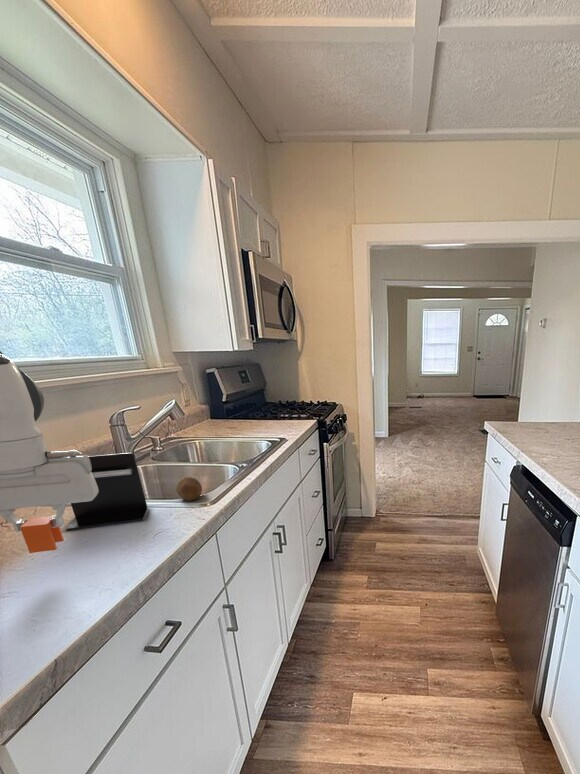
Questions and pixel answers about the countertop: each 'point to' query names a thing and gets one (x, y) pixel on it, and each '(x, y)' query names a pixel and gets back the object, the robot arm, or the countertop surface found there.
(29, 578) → the countertop surface
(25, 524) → the block
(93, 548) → the countertop surface
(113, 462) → the oven panel
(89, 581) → the countertop surface
